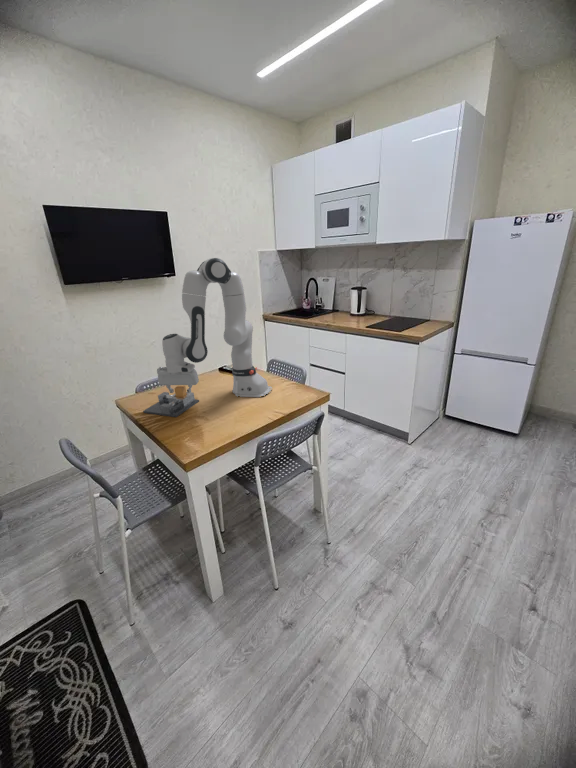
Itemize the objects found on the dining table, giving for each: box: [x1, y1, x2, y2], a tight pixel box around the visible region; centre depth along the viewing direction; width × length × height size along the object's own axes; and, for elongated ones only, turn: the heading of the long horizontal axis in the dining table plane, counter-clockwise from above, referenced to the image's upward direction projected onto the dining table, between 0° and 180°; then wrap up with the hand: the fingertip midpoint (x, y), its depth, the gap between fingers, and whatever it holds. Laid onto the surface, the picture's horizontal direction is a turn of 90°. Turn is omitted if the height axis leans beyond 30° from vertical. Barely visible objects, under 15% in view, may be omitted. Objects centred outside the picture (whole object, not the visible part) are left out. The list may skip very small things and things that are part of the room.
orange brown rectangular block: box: [173, 385, 187, 398], centre depth 163 cm, size 4×4×9 cm
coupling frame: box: [142, 391, 200, 418], centre depth 162 cm, size 20×19×6 cm
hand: (180, 392), depth 162 cm, fingers open, 8 cm apart
